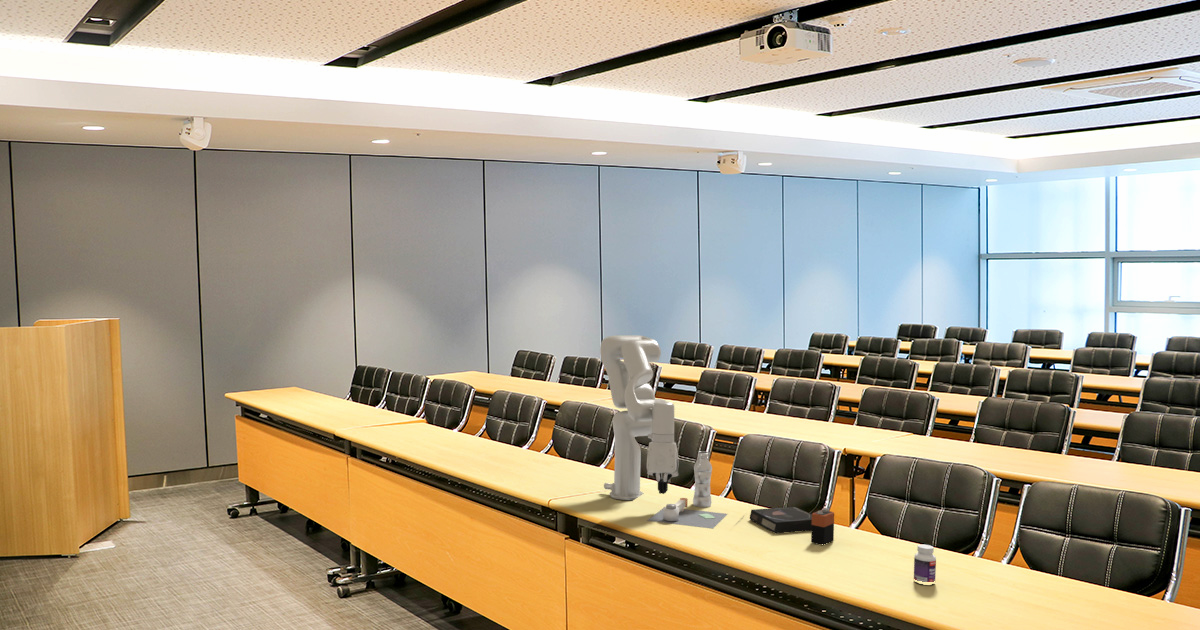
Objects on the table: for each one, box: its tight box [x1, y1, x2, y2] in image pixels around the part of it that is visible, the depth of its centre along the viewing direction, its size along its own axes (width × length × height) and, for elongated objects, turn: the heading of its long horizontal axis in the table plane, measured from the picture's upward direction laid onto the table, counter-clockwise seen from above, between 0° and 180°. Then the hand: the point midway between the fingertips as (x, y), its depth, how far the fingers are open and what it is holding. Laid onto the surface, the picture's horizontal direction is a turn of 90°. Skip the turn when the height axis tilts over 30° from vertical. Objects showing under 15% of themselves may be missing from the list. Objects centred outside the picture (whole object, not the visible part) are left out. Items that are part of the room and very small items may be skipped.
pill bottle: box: [913, 543, 937, 582], centre depth 234 cm, size 5×5×10 cm
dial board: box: [646, 508, 728, 529], centre depth 291 cm, size 22×20×2 cm
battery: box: [810, 507, 835, 546], centre depth 270 cm, size 4×7×10 cm, turn 138°
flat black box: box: [749, 506, 813, 534], centre depth 289 cm, size 16×17×4 cm
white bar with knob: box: [662, 497, 689, 521], centre depth 293 cm, size 5×18×5 cm, turn 158°
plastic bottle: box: [692, 450, 713, 508], centre depth 307 cm, size 6×7×20 cm
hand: (662, 492), depth 297 cm, fingers closed
